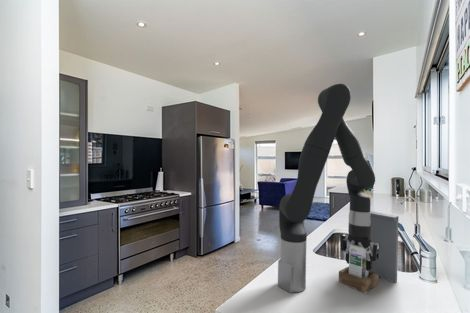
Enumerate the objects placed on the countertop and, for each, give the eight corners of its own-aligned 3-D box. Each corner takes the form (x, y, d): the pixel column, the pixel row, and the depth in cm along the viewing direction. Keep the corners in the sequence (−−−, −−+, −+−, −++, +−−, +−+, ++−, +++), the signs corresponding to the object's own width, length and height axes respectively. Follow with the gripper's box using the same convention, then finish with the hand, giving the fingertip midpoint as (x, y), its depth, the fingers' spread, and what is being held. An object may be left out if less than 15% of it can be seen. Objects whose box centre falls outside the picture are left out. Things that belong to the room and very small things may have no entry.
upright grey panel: (392, 284, 97) (394, 217, 97) (351, 268, 110) (352, 209, 109) (397, 281, 99) (398, 216, 99) (356, 266, 112) (357, 208, 112)
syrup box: (347, 283, 97) (349, 244, 97) (352, 277, 101) (354, 241, 101) (364, 289, 93) (365, 248, 93) (368, 283, 98) (370, 244, 97)
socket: (365, 293, 90) (365, 281, 90) (338, 281, 98) (338, 271, 98) (378, 284, 96) (378, 274, 96) (352, 274, 104) (352, 264, 104)
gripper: (336, 219, 101) (335, 262, 101) (374, 228, 89) (373, 276, 89) (346, 217, 105) (345, 258, 105) (384, 225, 94) (383, 271, 94)
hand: (358, 266), depth 97 cm, fingers open, 7 cm apart
